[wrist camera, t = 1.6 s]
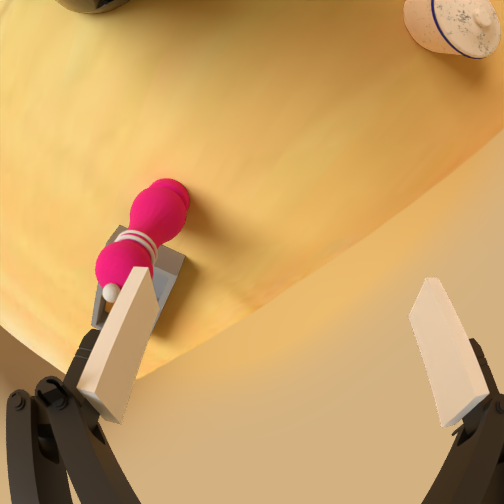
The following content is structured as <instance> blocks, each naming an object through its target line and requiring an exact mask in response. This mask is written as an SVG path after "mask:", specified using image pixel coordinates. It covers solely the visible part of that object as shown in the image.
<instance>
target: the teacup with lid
mask: <svg viewBox="0 0 504 504" xmlns="http://www.w3.org/2000/svg"><path fill="white" fill-rule="evenodd" d="M403 18H404V22H405V25H406V28H407V30H408V31H409V33H410V35H411V36H412V37H413V38H414V40H415V41H416V42H417V43H418V44H420V45H421V46H422V47H424V48H426V49H427V50H430V51H433V52H437V53H447V54H457V55H464V56H466V57H469V58H473V59H481V58H485V57H487V56H489V55H491V54H492V53H493V52H494V51H495V50H496V48H497V47H498V44H499V41H500V36H501V29H500V23H499V19H498V16H497V14H496V11H495V9H494V7H493V6H492V4H491V3H490V1H489V0H406V2H405V4H404V7H403Z"/></svg>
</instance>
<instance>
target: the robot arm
mask: <svg viewBox="0 0 504 504" xmlns="http://www.w3.org/2000/svg"><path fill="white" fill-rule="evenodd" d="M56 1H57V2H58V3H60V4H61V5H62V6H64V7H65V8H67V9H69V10H71V11H74V12H79V13H90V14H95V13H102V12H106V11H110V10H112V9H115V8H117V7H119V6H121V5H123V4H125V3H126V2H128V1H129V0H56ZM158 312H159V305H158V302H157V298H156V294H155V291H154V287H153V283H152V279H151V276H150V272H149V268H148V267H133V269H132V271H131V273H130V274H129V276H128V278H127V280H126V282H125V284H124V286H123V288H122V290H121V292H120V294H119V296H118V298H117V300H116V301H115V303H114V305H113V308H112V310H111V312H110V314H109V316H108V318H107V320H106V322H105V324H104V326H103V328H102V330H96V329H91V330H90V331H89V332H88V333H87V334H86V335H85V336H84V337H83V339H82V342H81V344H80V346H79V349H78V350H77V352H76V354H75V357H74V358H73V361H72V363H71V365H70V367H69V369H68V372H67V374H66V376H65V378H64V381H63V382H62V381H61V380H60V379H58V378H57V377H54V376H49V377H45V378H44V379H42V380H41V381H40V382H39V383H38V384H37V386H36V389H35V396H30V395H29V394H28V393H27V392H26V391H24V390H16V391H14V392H13V393H12V394H10V396H9V398H8V401H7V410H6V411H7V412H6V446H7V465H8V477H9V486H10V494H11V501H12V504H73V502H72V498H71V493H70V488H69V483H68V477H67V472H68V475H69V477H70V480H71V482H72V484H73V486H74V489H75V491H76V493H77V495H78V497H79V500H80V502H81V504H141V503H140V501H139V499H138V498H137V496H136V494H135V493H134V491H133V489H132V487H131V486H130V484H129V482H128V480H127V479H126V477H125V475H124V473H123V471H122V469H121V468H120V466H119V464H118V462H117V460H116V458H115V456H114V454H113V452H112V450H111V448H110V446H109V443H108V442H107V439H106V437H105V435H104V433H103V430H102V428H101V426H100V424H99V422H98V419H99V416H100V415H101V416H102V418H104V419H105V420H106V421H110V422H114V423H117V424H122V421H123V417H124V413H125V410H126V407H127V404H128V401H129V397H130V394H131V390H132V387H133V385H134V381H135V378H136V375H137V372H138V369H139V366H140V363H141V360H142V357H143V354H144V351H145V348H146V345H147V343H148V340H149V337H150V334H151V331H152V328H153V325H154V323H155V320H156V317H157V314H158ZM408 318H409V321H410V323H411V326H412V329H413V332H414V335H415V338H416V341H417V344H418V346H419V350H420V353H421V356H422V359H423V362H424V365H425V369H426V372H427V375H428V379H429V382H430V385H431V389H432V393H433V396H434V400H435V404H436V408H437V412H438V416H439V420H440V424H441V428H443V427H448V426H451V425H455V424H456V423H457V422H459V421H460V420H461V419H462V420H463V423H464V424H462V425H461V426H460V427H459V428H458V429H456V430H455V431H454V432H453V433H452V436H454V435H455V434H456V433H458V434H457V436H456V439H455V441H454V443H453V445H452V447H451V450H450V452H449V454H448V456H447V458H446V460H445V462H444V464H443V466H442V468H441V470H440V472H439V474H438V476H437V477H436V479H435V481H434V483H433V485H432V487H431V488H430V490H429V492H428V493H427V495H426V497H425V498H424V500H423V502H422V503H421V504H504V394H500V393H499V391H498V389H497V386H496V383H495V381H494V378H493V375H492V373H491V370H490V368H489V366H488V365H487V361H486V358H484V354H483V351H482V349H481V346H480V345H479V344H478V343H477V342H476V340H475V339H474V338H472V339H468V337H467V335H466V333H465V330H464V328H463V326H462V324H461V322H460V320H459V318H458V315H457V313H456V311H455V309H454V307H453V305H452V303H451V301H450V300H449V297H448V295H447V294H446V291H445V290H444V288H443V286H442V284H441V282H440V280H439V278H429V277H428V278H425V281H424V283H423V285H422V287H421V290H420V292H419V294H418V297H417V298H416V301H415V303H414V305H413V307H412V309H411V311H410V313H409V316H408ZM66 470H67V472H66Z"/></svg>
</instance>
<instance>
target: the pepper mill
mask: <svg viewBox="0 0 504 504" xmlns="http://www.w3.org/2000/svg"><path fill="white" fill-rule="evenodd" d="M189 203H190V199H189V195H188V192H187V190H186V189H185V188H184V186H183V185H181V184H180V183H179V182H177V181H175V180H173V179H167V178H164V179H159V180H157V181H155V182H154V183H153V184H152V185H151V186H150V187H149V188H147V189H145V190H143V191H142V192H141V193H140V194H139V195H138V196H137V197H136V199H135V200H134V202H133V204H132V207H131V211H130V225H129V228H128V230H126V231H124V232H122V233H120V234H119V235H118V237H117V239H116V240H115V241H114V243H111V244H109V245H107V246H106V247H105V248H104V249H103V250H102V251H101V253H100V254H99V256H98V259H97V261H96V267H95V272H96V277H97V280H98V282H99V284H100V286H101V287H102V288H103V297H104V299H105V300H106V301H108V302H111V303H112V302H115V301H116V300H117V298H118V296H119V294H120V292H121V290H122V288H123V286H124V284H125V282H126V280H127V278H128V276H129V274H130V273H131V271H132V269H133V267H148V268H149V272H150V276H151V279H153V267H154V264H155V262H156V260H157V258H158V251H157V249H158V248H159V247H160V245H161V244H163V243H165V242H167V241H169V240H171V239H173V238H174V237H175V236H176V235H177V234H178V233H179V232H180V231H181V229H182V227H183V226H184V224H185V221H186V212H187V210H188V207H189Z"/></svg>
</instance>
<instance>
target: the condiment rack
mask: <svg viewBox="0 0 504 504" xmlns="http://www.w3.org/2000/svg"><path fill="white" fill-rule="evenodd" d="M126 230H128V229H127V228H125V227H123V226H121V225H119V227H118V228H117V229H116V231H115V232H114V233H113V235H112V236H111V237H110V239H109V240H108V241H107V243H106V246H107V245H109V244H111V243H114V241H115V240H116V239H117V237H118V235H119V234H120V233H122V232H124V231H126ZM106 246H105V247H106ZM157 251H158V258H157V260H156V262H155V264H154V267H153V279H152V283H153V287H154V291H155V294H156V298H157V302H158V305H159V312H158V314H157V317H156V320H155V323H154V325H153V328H152V331H153V329H154V326H155V324H156V322H157V320H158V318H159V315H160V313H161V311H162V309H163V307H164V304H165V302H166V300H167V298H168V296H169V294H170V291H171V289H172V287H173V285H174V283H175V281H176V279H177V277H178V274H179V271H180V269H181V266H182V263H183V261H184V258H185V255H183V254H181V253H179V252H176V251H174V250H172V249H170V248H168V247H165V246H163V245H160V247H159V248H158V249H157ZM114 303H115V302H112V303H111V302H108V301H106V300H105V299H104V297H103V288H102V287H101V286H100V284H99V282H98V285H97V291H96V297H95V303H94V309H93V316H92V323H91V326H93V327H95V328H97V329H99V330H102V328H103V326H104V324H105V322H106V320H107V318H108V316H109V314H110V312H111V310H112V308H113V305H114ZM152 331H151V333H152ZM150 335H151V334H150ZM149 338H150V337H149Z"/></svg>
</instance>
